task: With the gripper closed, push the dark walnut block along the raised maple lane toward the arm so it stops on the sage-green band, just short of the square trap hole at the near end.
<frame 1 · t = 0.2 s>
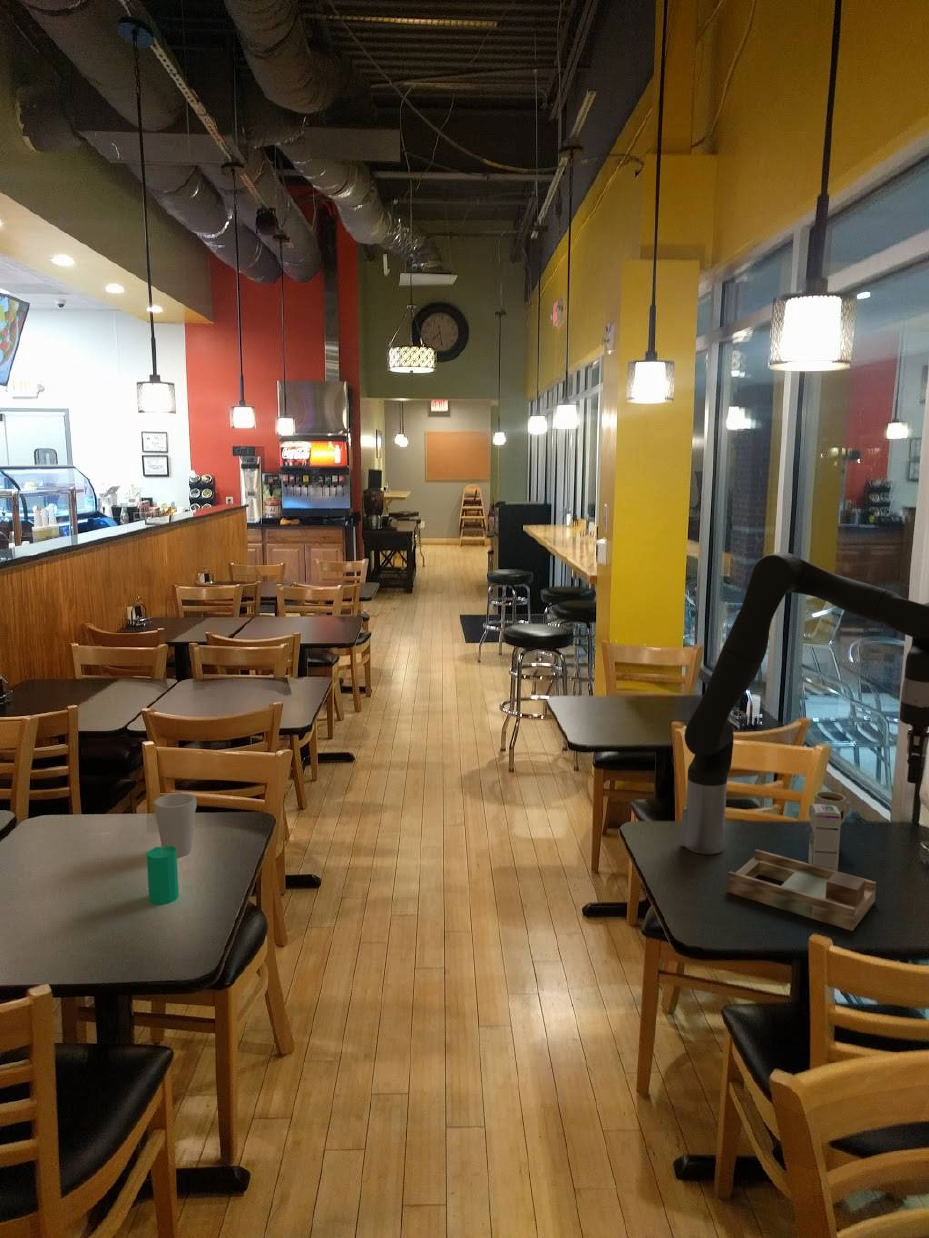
hand: (914, 776, 182), 28 cm above the table, fingers open, 8 cm apart
character mug: (826, 847, 216), on the table
syrup box: (822, 868, 204), on the table
foam cup: (177, 852, 210), on the table
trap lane: (800, 896, 190), on the table
walnut block: (844, 896, 184), point 3 cm above the table, touching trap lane
candle: (163, 898, 187), on the table
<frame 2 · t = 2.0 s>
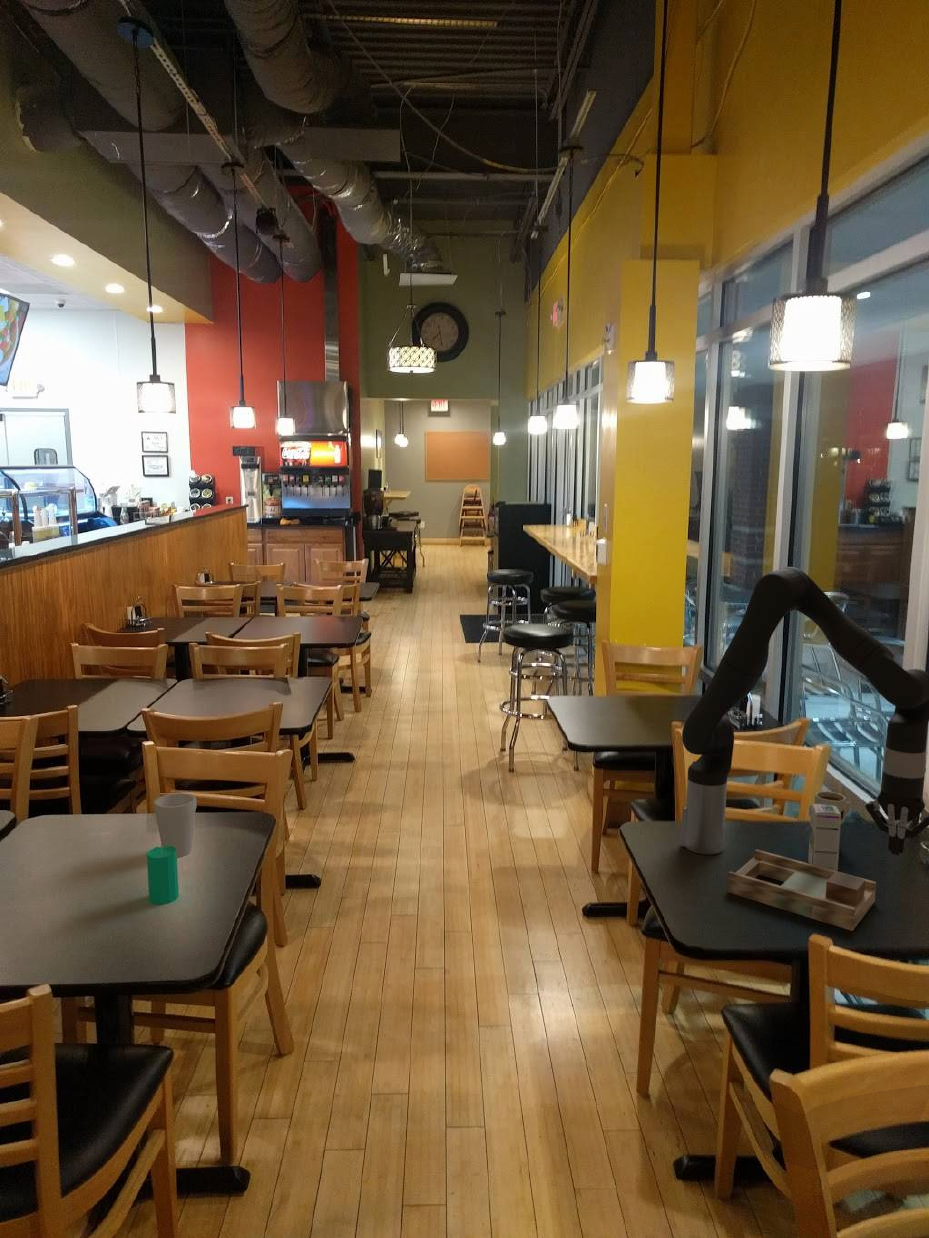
hand: (896, 853, 176), 15 cm above the table, fingers closed
nothing on the table moved.
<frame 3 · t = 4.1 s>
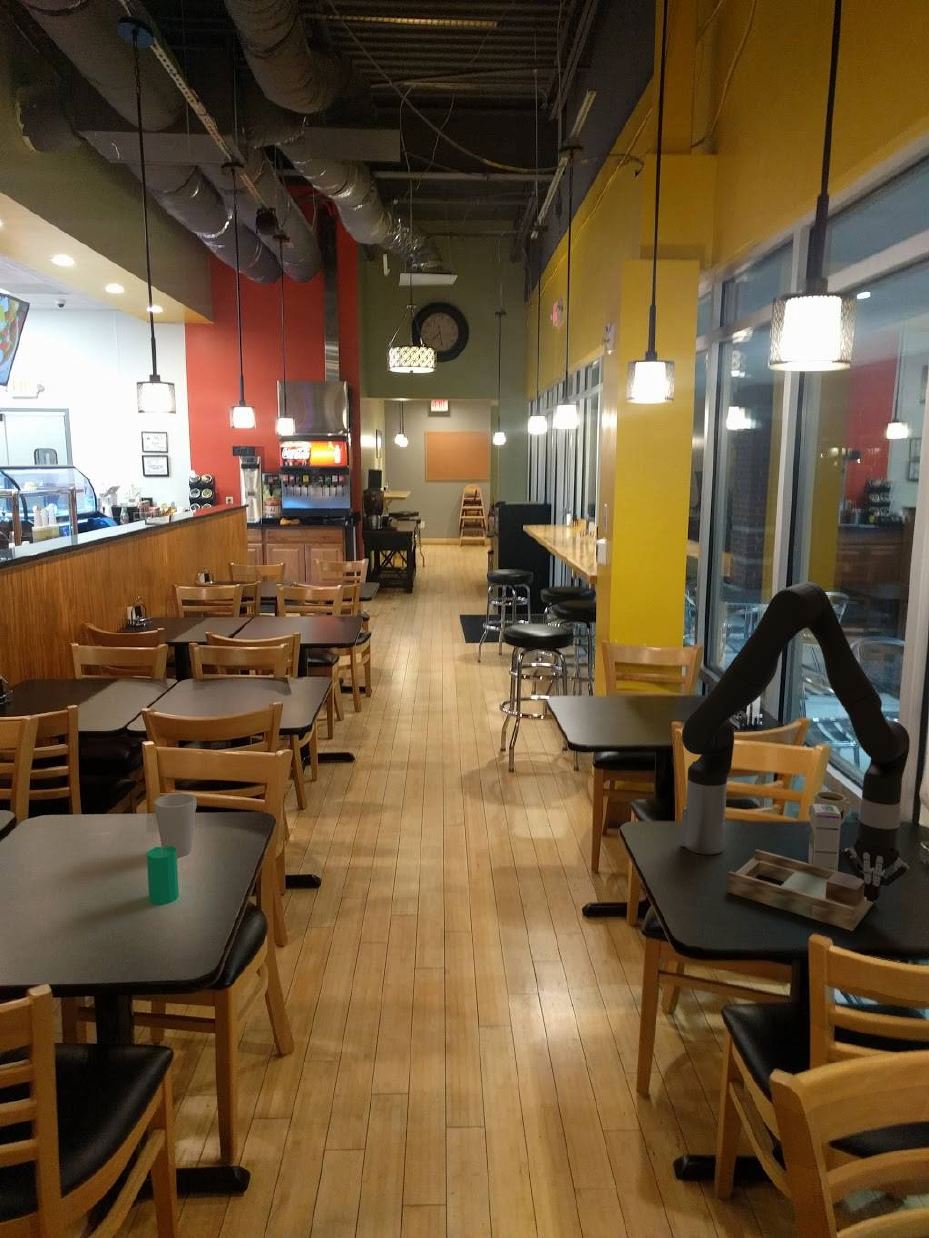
hand: (871, 900, 181), 4 cm above the table, fingers closed
walnut block: (844, 896, 184), point 3 cm above the table, touching gripper, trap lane
everything else where it was.
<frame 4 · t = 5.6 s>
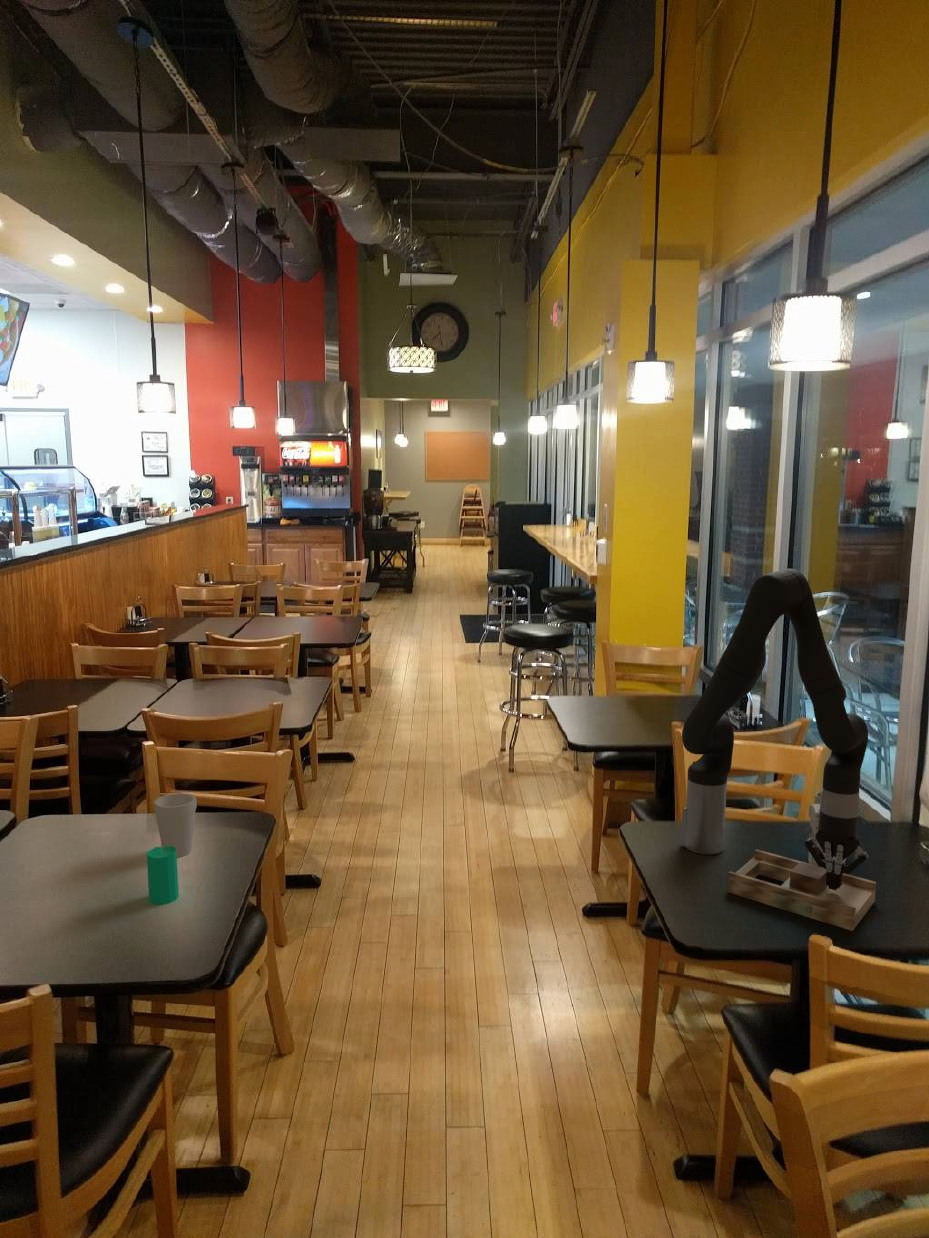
hand: (833, 888, 185), 4 cm above the table, fingers closed
walnut block: (808, 885, 189), point 3 cm above the table, touching gripper
everything else where it was.
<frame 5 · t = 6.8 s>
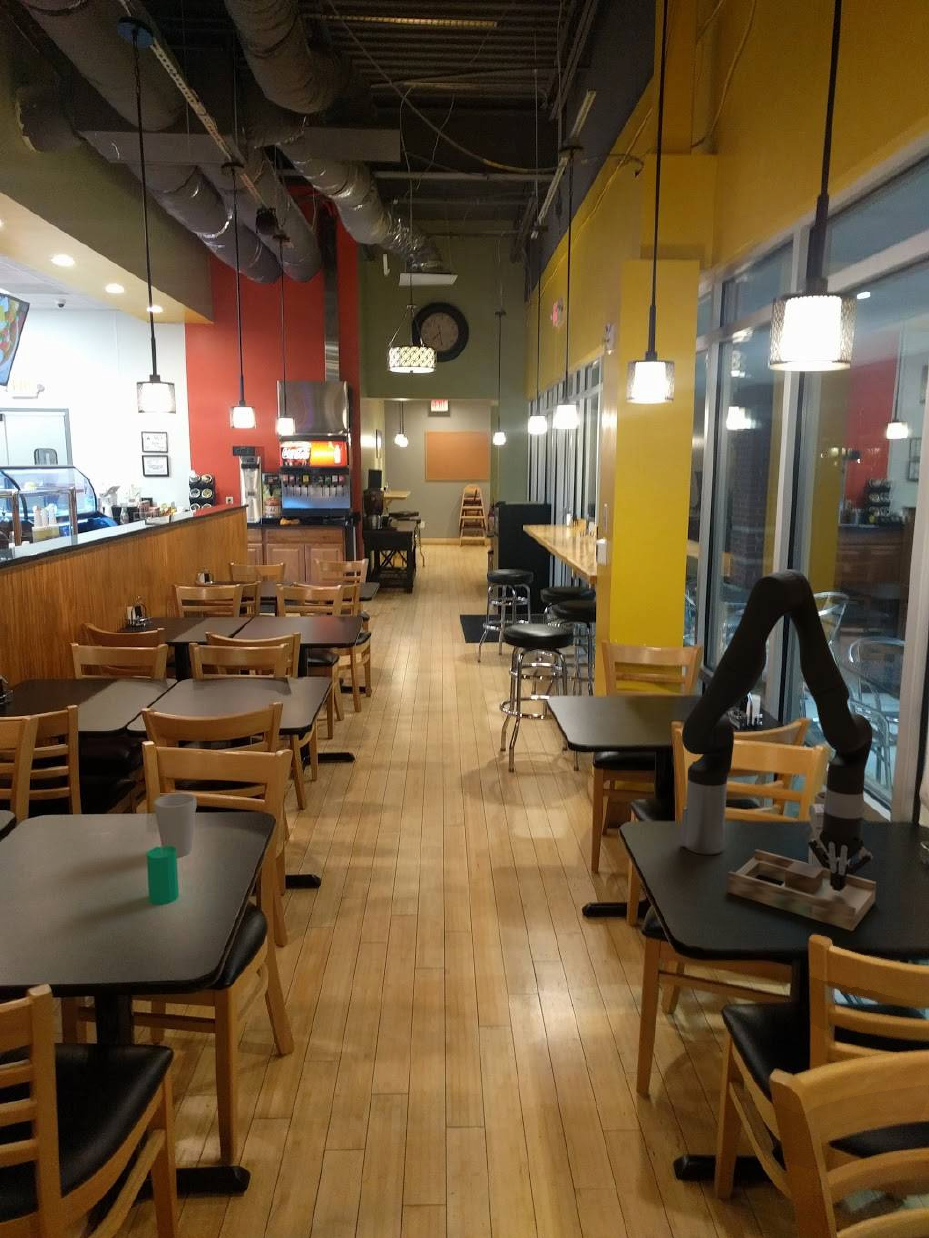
hand: (837, 889, 184), 4 cm above the table, fingers closed
walnut block: (803, 884, 189), point 3 cm above the table, touching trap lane
everything else where it was.
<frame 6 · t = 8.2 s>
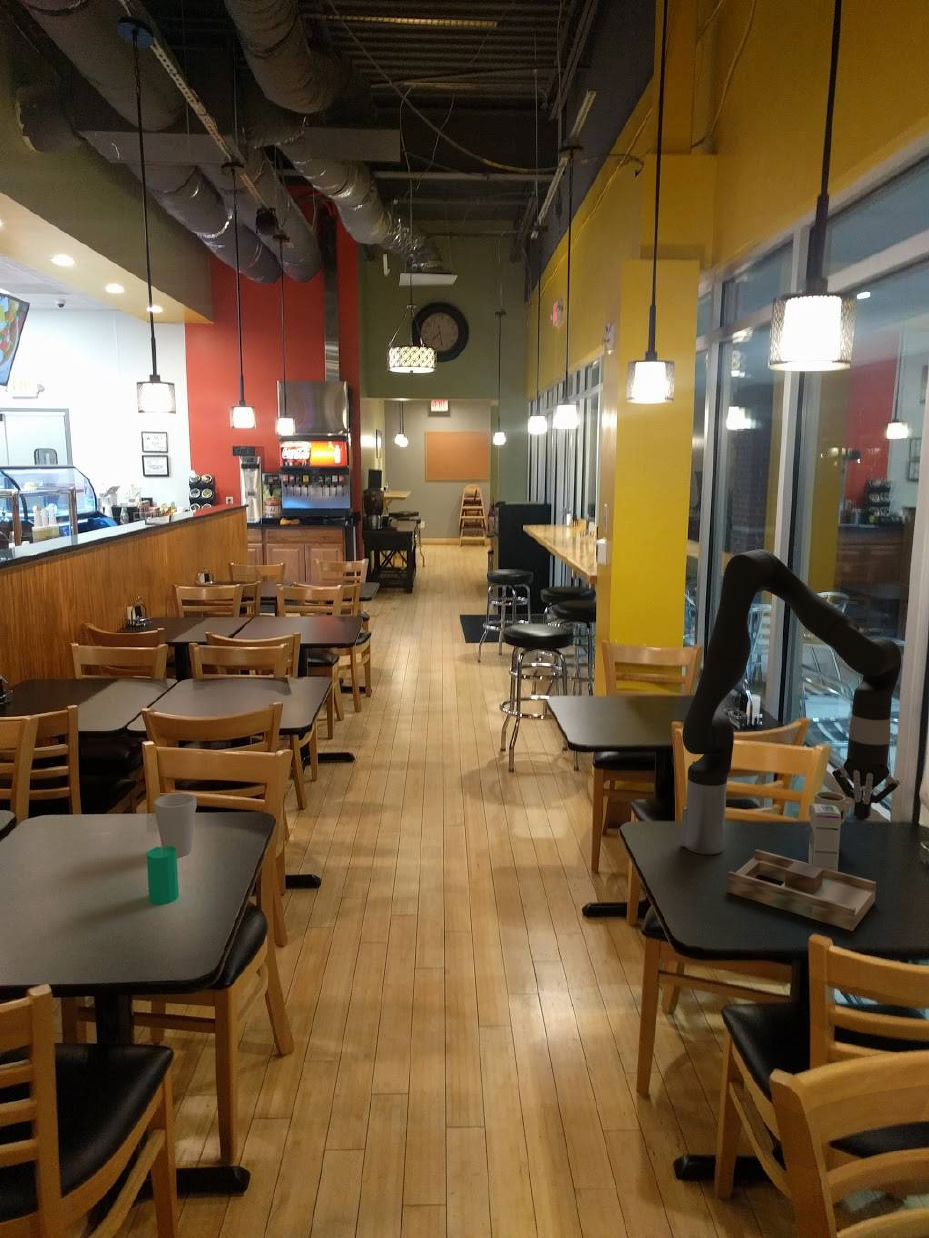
hand: (861, 819, 180), 20 cm above the table, fingers closed
nothing on the table moved.
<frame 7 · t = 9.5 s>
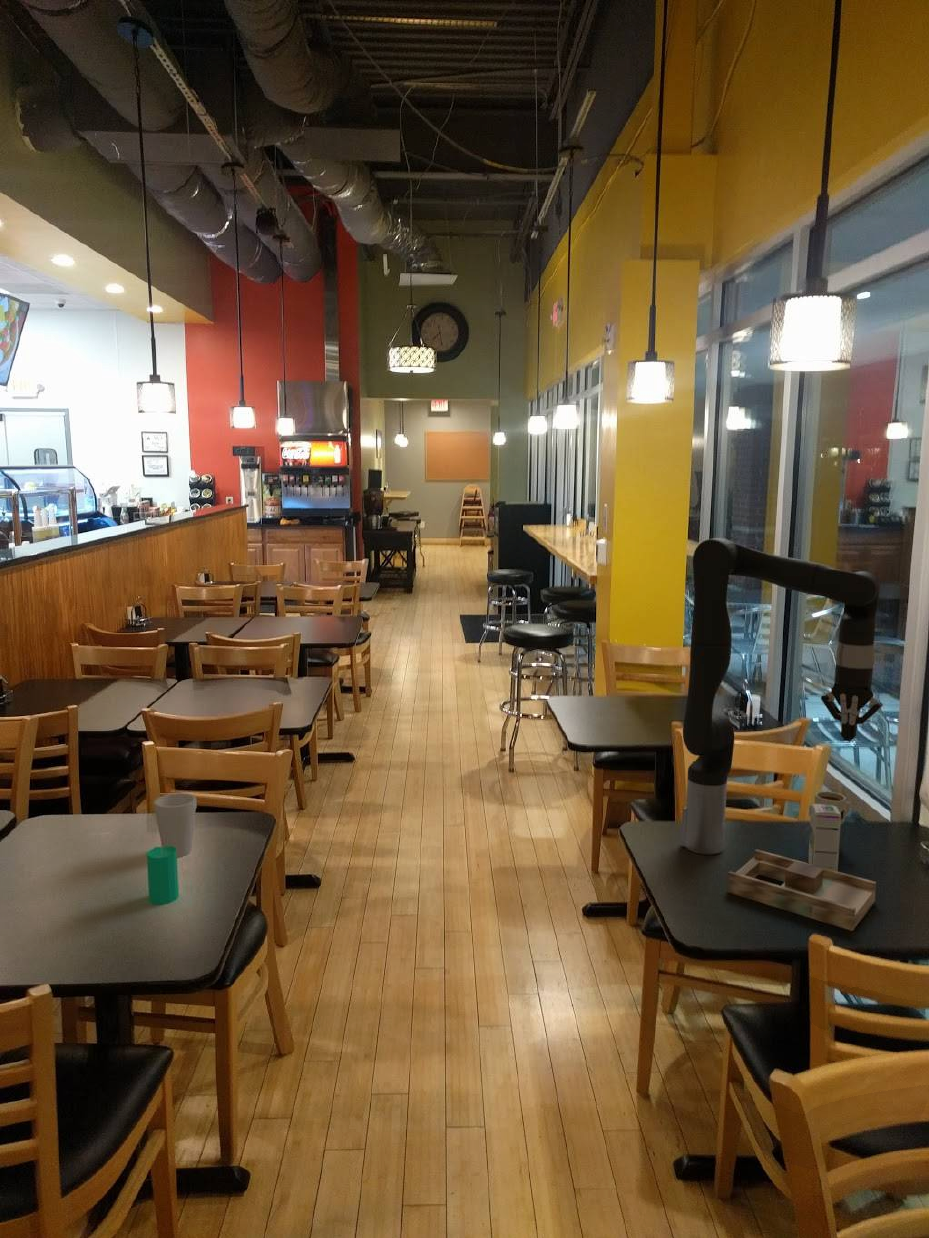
hand: (848, 739, 195), 32 cm above the table, fingers closed
nothing on the table moved.
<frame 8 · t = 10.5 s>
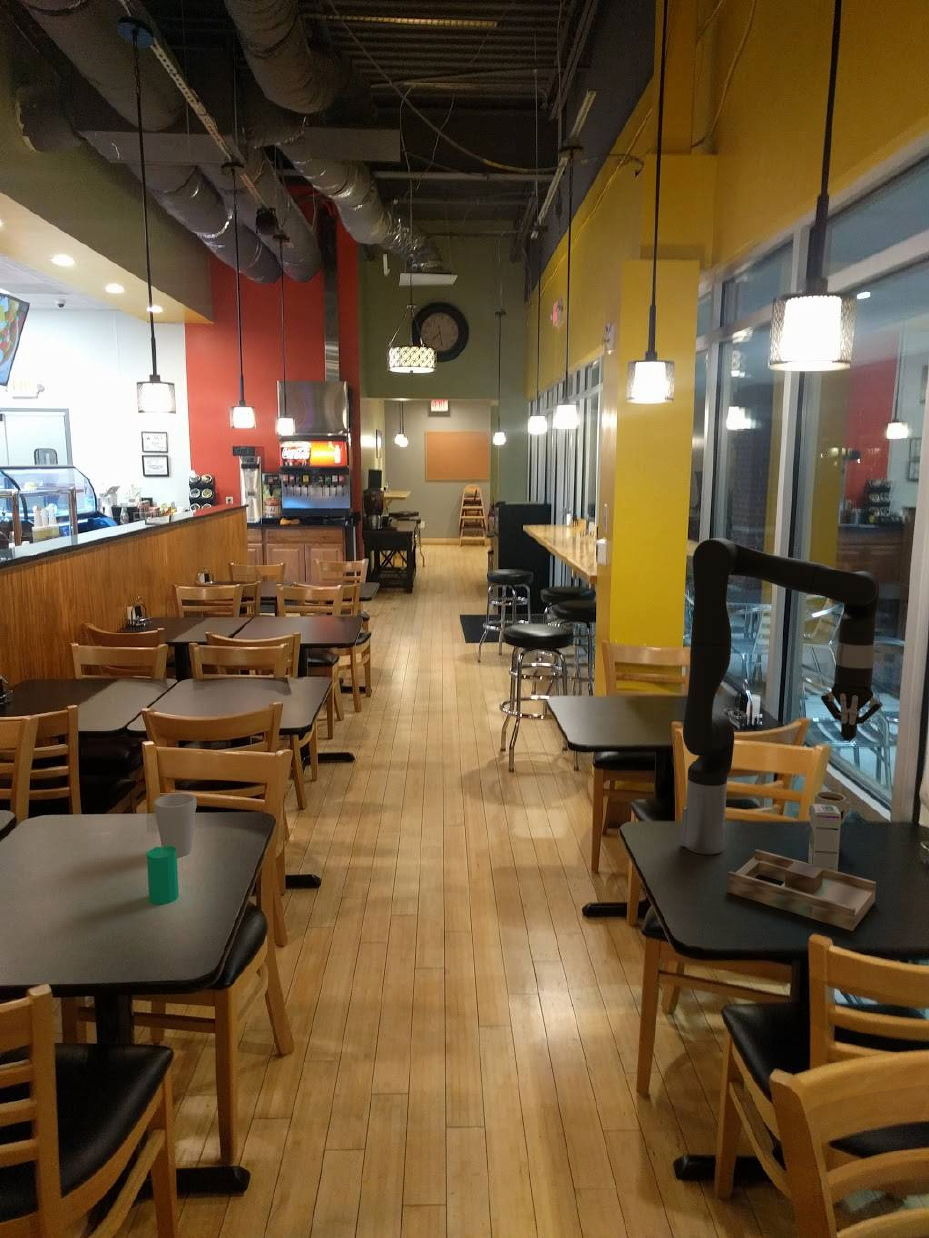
hand: (848, 739, 195), 32 cm above the table, fingers closed
nothing on the table moved.
at the end: walnut block 0.7 cm from the target spot, point 3.0 cm above the table; walnut block tilted 0° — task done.
